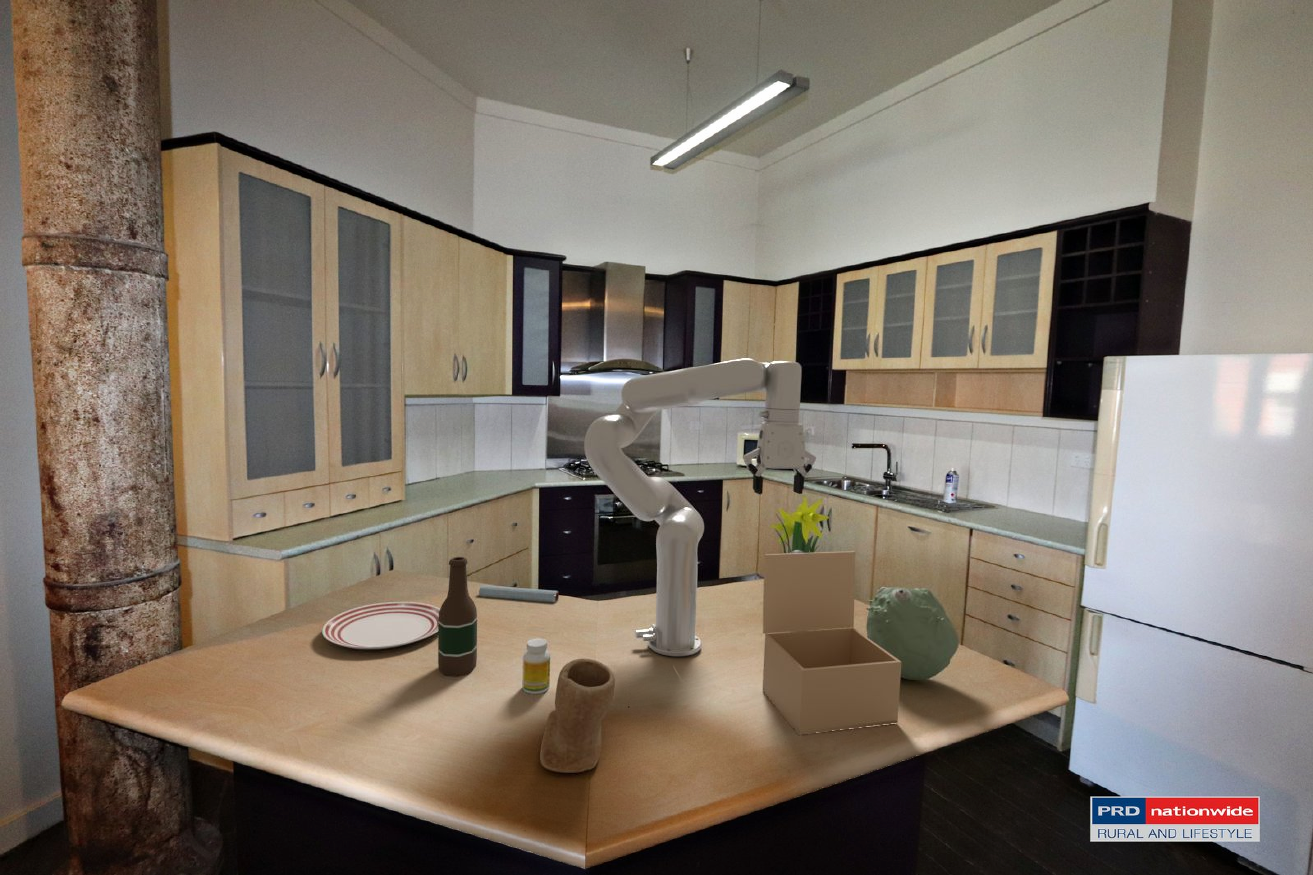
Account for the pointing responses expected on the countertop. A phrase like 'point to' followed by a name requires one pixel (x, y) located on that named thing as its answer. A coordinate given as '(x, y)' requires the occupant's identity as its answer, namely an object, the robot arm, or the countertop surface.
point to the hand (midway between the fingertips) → (778, 493)
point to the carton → (831, 680)
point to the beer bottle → (457, 625)
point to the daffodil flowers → (800, 527)
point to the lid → (808, 591)
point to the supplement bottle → (536, 667)
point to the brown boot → (577, 717)
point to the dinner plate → (382, 625)
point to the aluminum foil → (519, 593)
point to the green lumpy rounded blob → (912, 630)
